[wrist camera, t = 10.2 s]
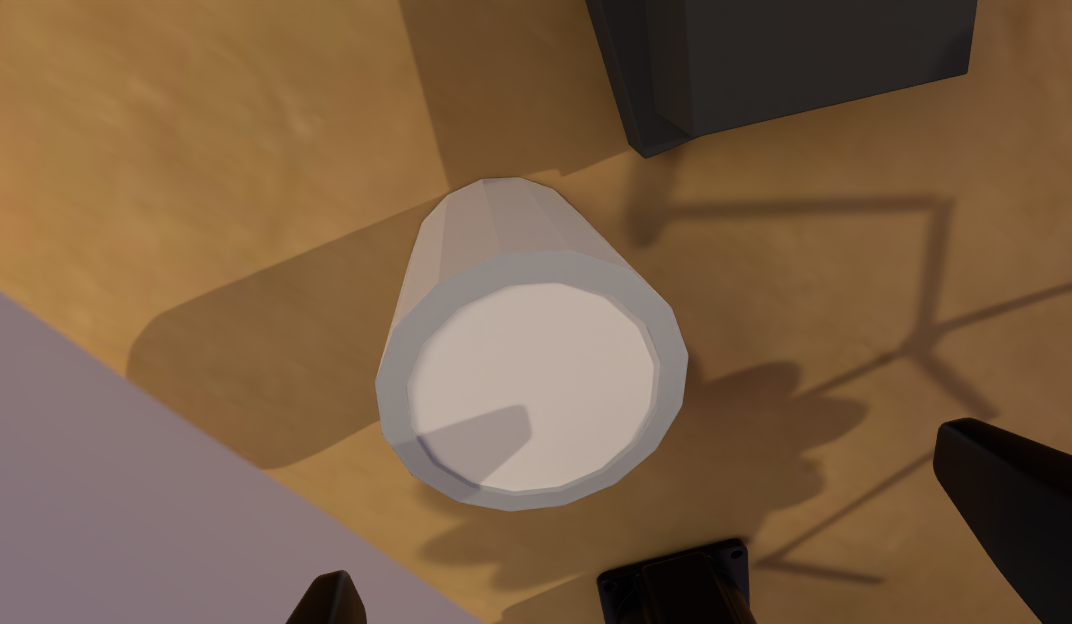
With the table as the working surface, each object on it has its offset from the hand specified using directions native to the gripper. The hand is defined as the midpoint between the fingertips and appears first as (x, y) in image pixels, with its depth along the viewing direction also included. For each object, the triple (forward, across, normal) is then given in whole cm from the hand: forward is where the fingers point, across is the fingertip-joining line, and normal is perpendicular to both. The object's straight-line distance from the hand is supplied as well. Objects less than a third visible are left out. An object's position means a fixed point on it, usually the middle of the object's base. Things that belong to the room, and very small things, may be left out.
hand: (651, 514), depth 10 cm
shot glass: (+12, +1, +1) cm, 12 cm away
